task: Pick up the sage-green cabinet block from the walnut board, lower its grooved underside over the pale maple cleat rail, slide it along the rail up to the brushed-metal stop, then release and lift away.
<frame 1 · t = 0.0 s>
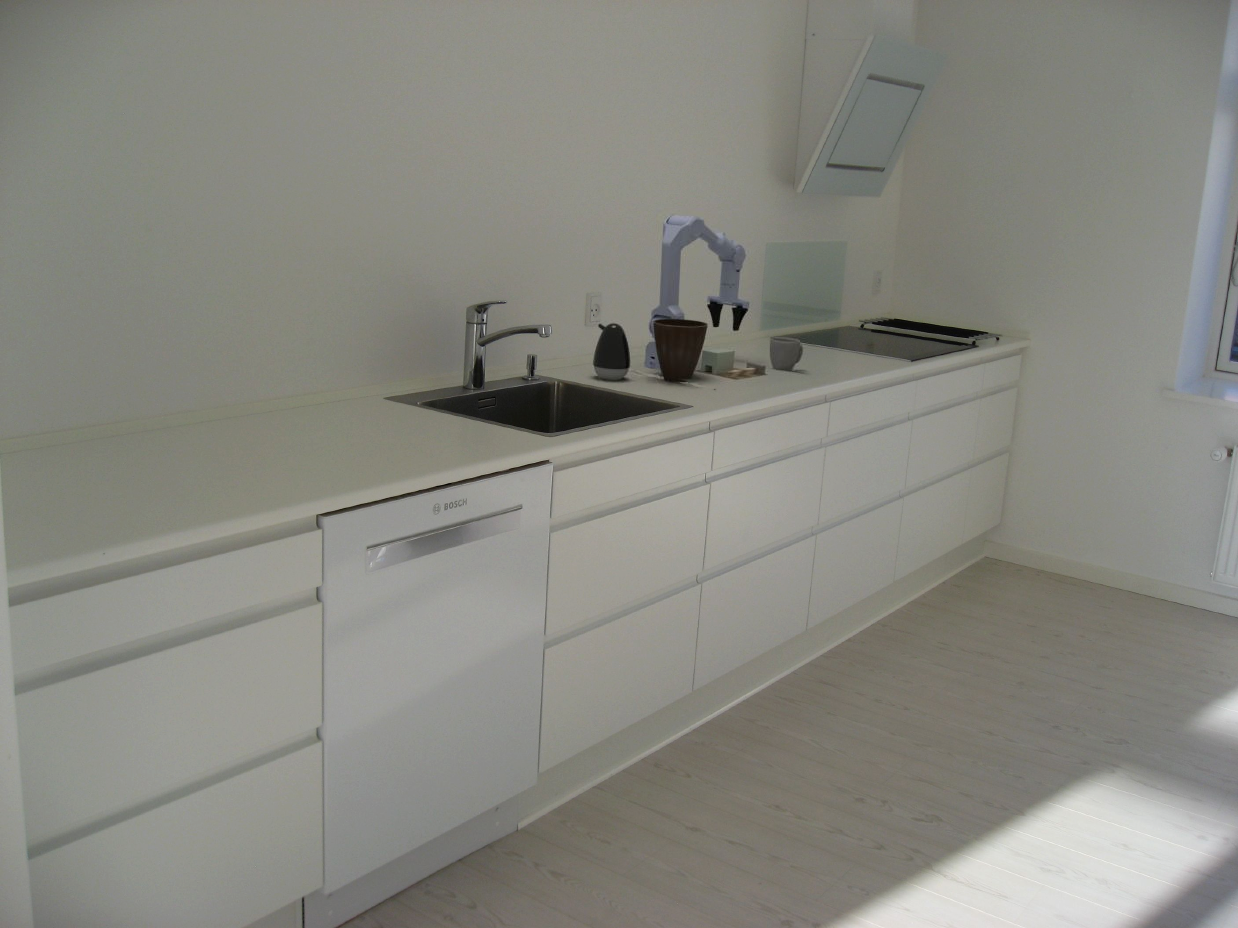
hand: (725, 328, 343), 10 cm above the worktop, fingers open, 7 cm apart
cleat board: (730, 376, 322), on the worktop
plant pot: (676, 380, 311), on the worktop
pump dispenser: (610, 379, 307), on the worktop
cabinet block: (716, 371, 322), point 1 cm above the worktop, touching cleat board
mug: (785, 372, 335), on the worktop
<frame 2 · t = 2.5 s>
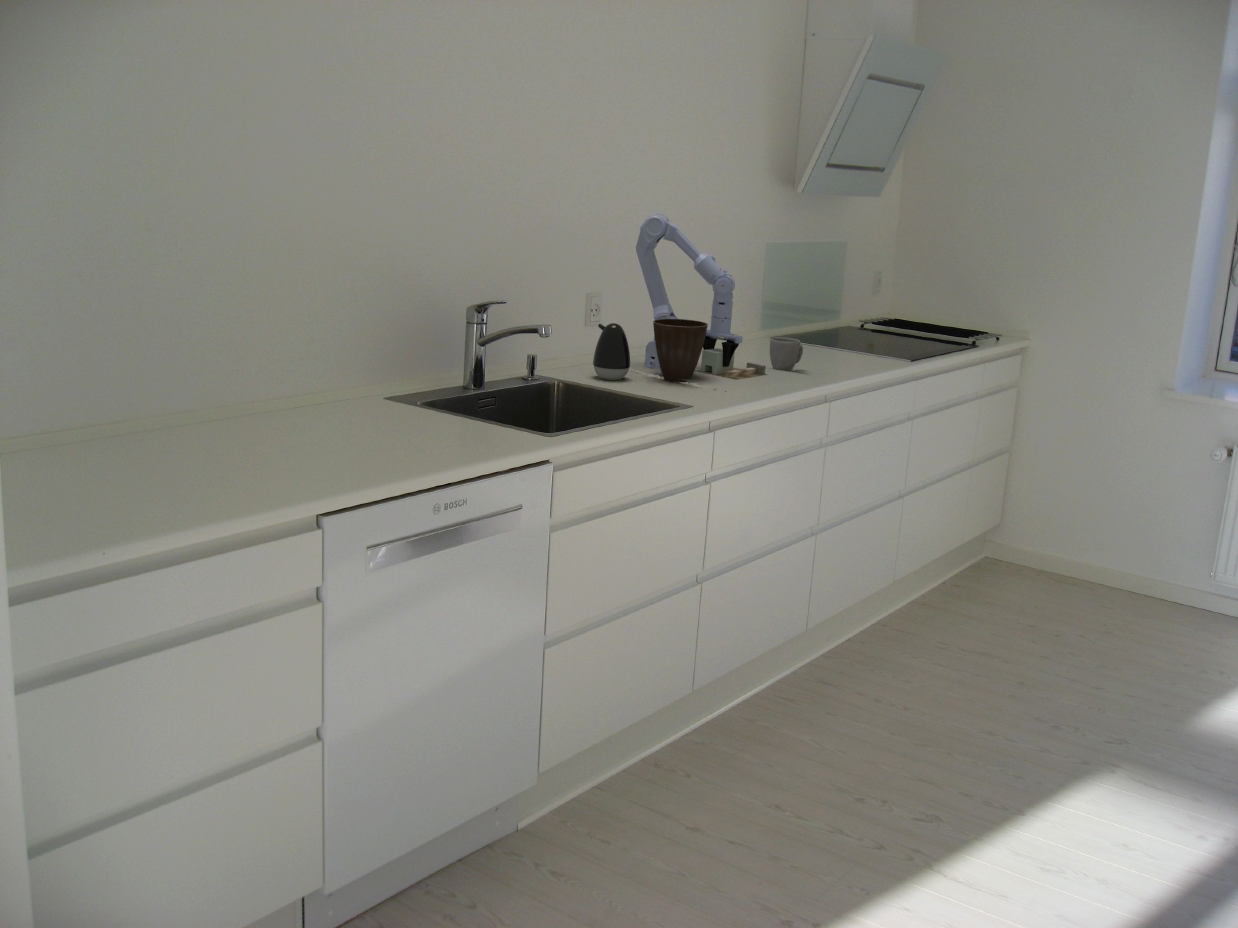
hand: (717, 364, 322), 3 cm above the worktop, fingers closed on cabinet block, 5 cm apart
cabinet block: (716, 371, 322), point 1 cm above the worktop, touching cleat board, gripper
everything else where it was.
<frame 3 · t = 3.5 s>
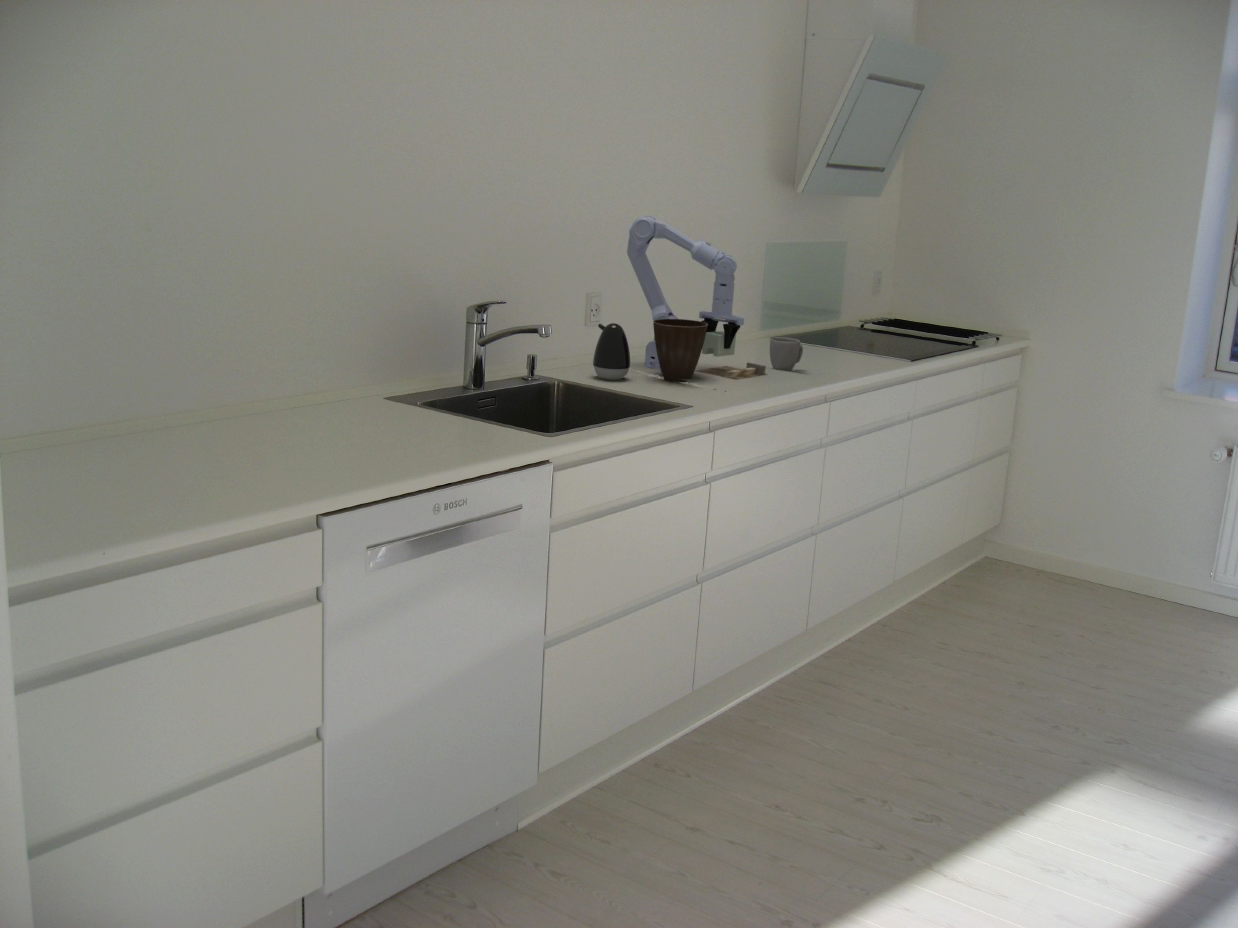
hand: (718, 346, 320), 8 cm above the worktop, fingers closed on cabinet block, 5 cm apart
cabinet block: (718, 354, 321), point 6 cm above the worktop, touching gripper
everything else where it was.
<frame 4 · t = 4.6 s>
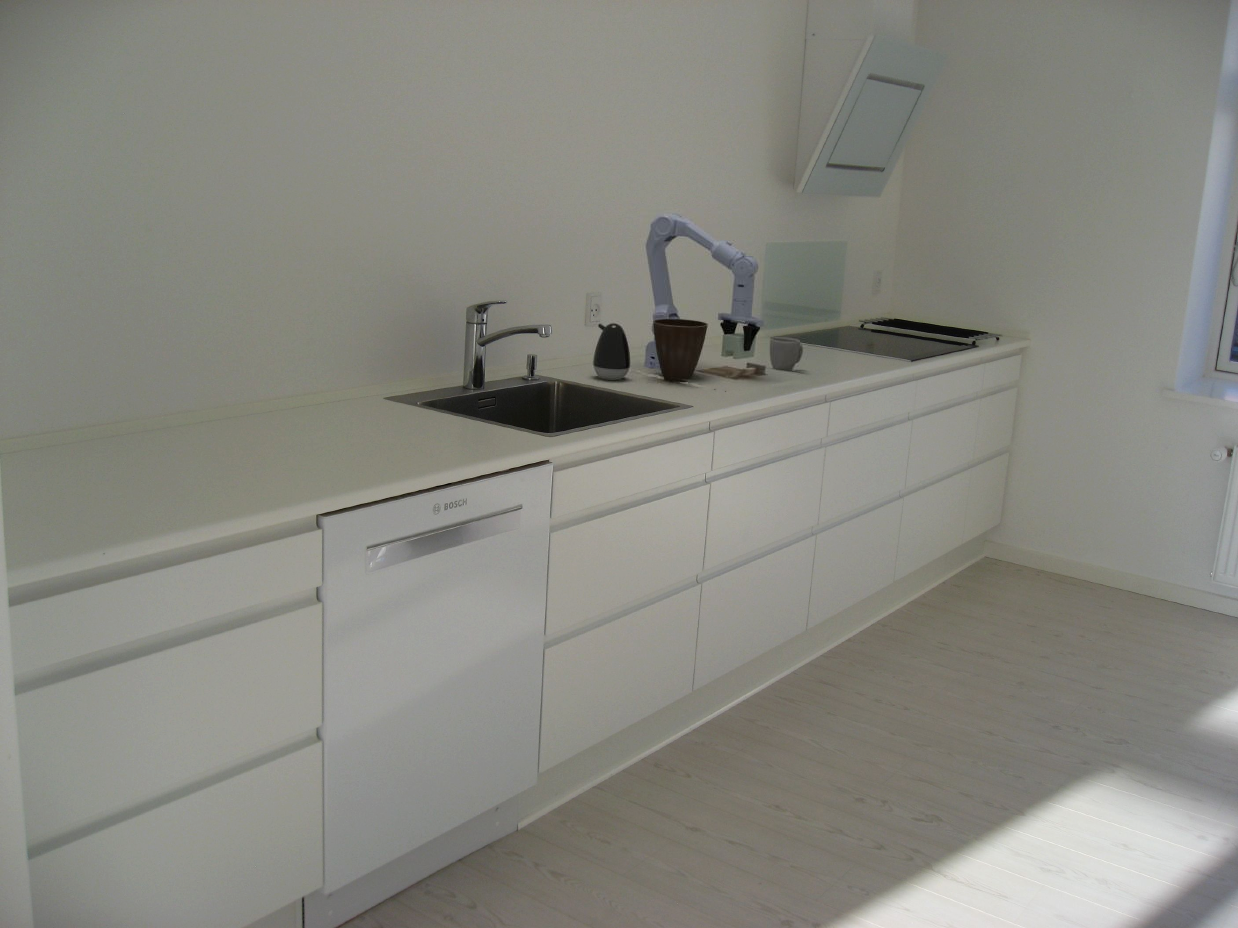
hand: (738, 349, 315), 9 cm above the worktop, fingers closed on cabinet block, 5 cm apart
cabinet block: (737, 356, 315), point 7 cm above the worktop, touching gripper
everything else where it was.
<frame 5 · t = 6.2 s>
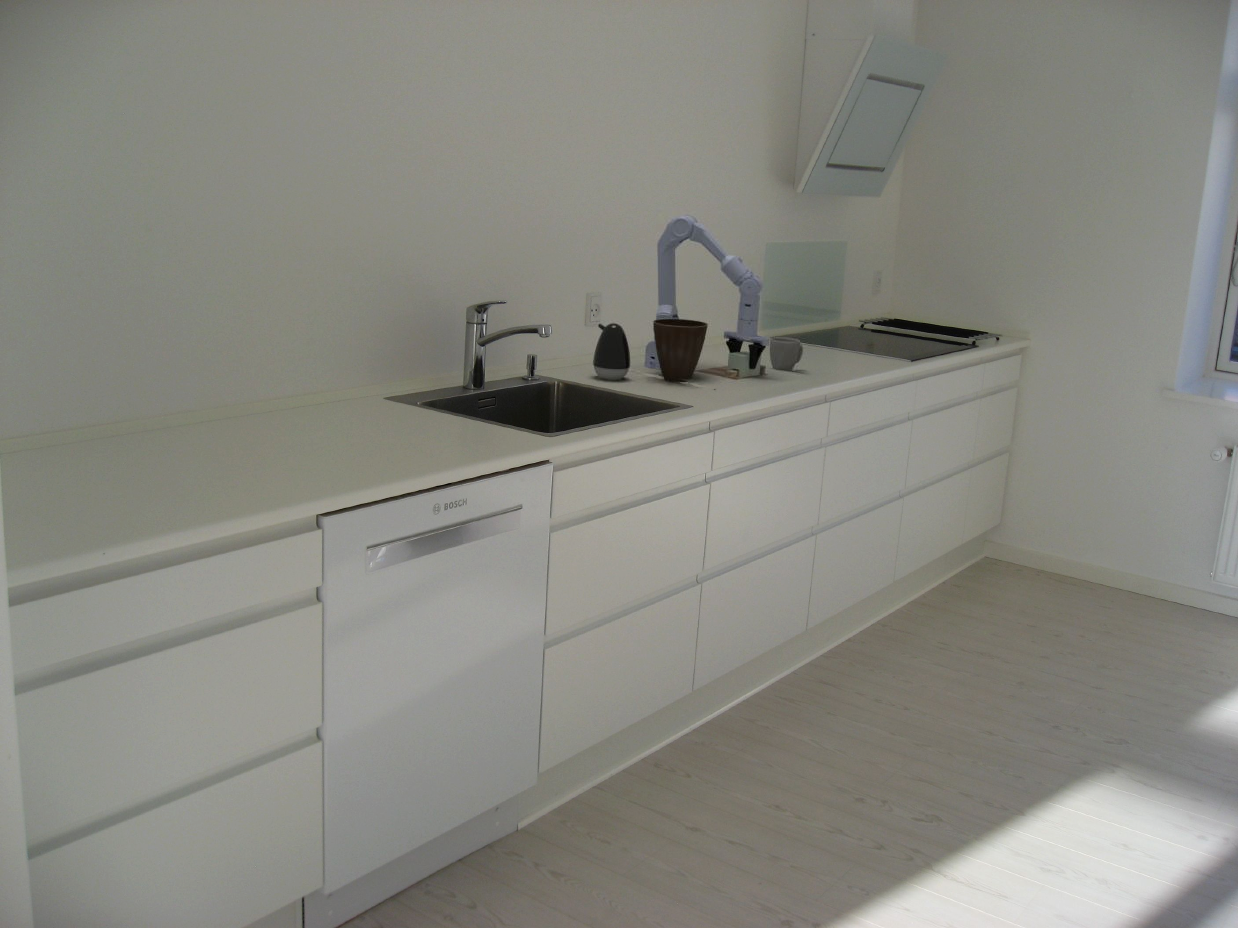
hand: (743, 367, 319), 3 cm above the worktop, fingers closed on cabinet block, 5 cm apart
cabinet block: (743, 374, 319), point 1 cm above the worktop, touching gripper
everything else where it was.
when the fingers open (3 cm above the worktop, at t = 7.1 s): cabinet block stays where it is, resting on cleat board.
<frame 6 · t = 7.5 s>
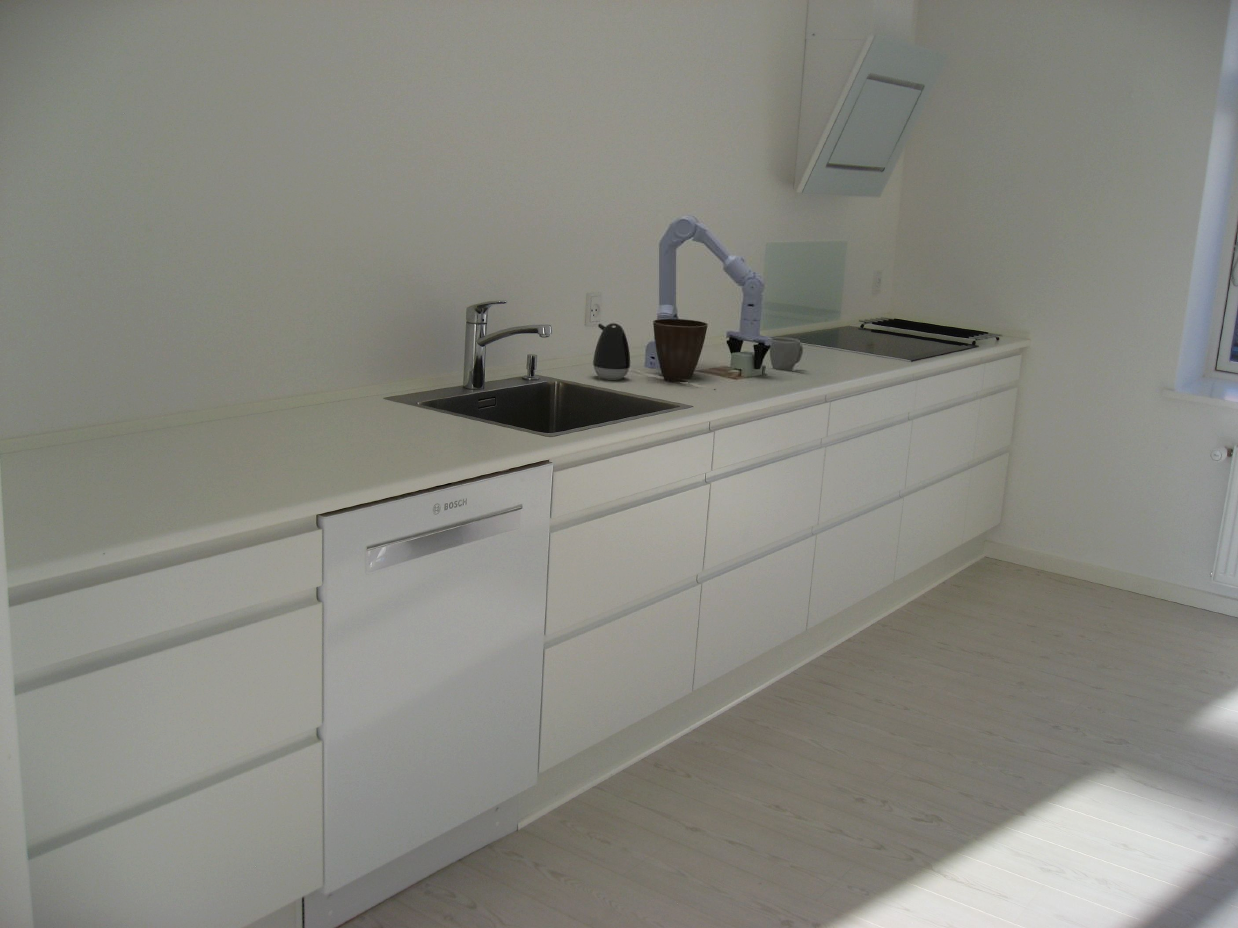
hand: (746, 366, 320), 3 cm above the worktop, fingers open, 7 cm apart
cabinet block: (745, 374, 320), point 1 cm above the worktop, touching cleat board
everything else where it was.
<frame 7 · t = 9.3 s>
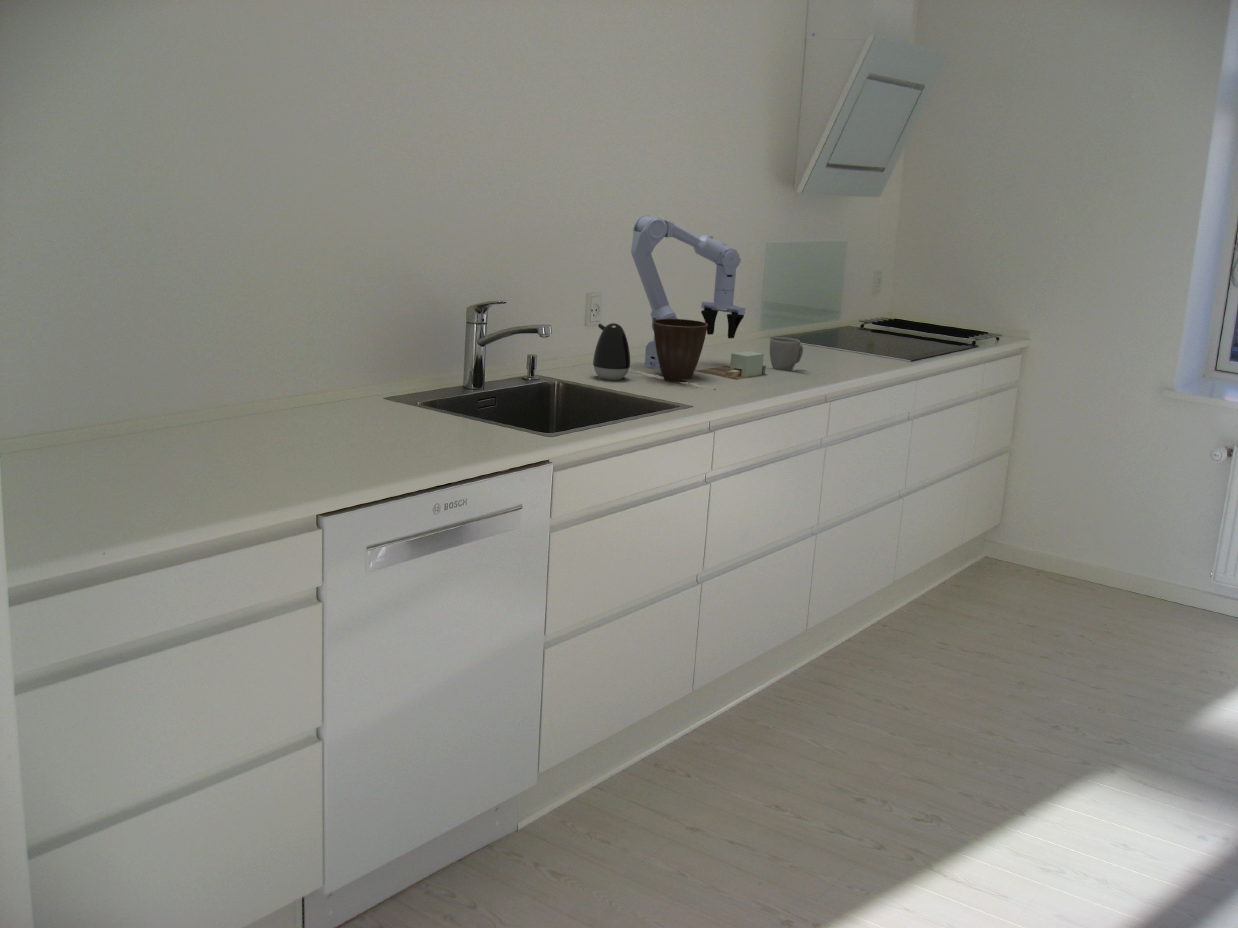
hand: (720, 336, 328), 10 cm above the worktop, fingers open, 7 cm apart
nothing on the worktop moved.
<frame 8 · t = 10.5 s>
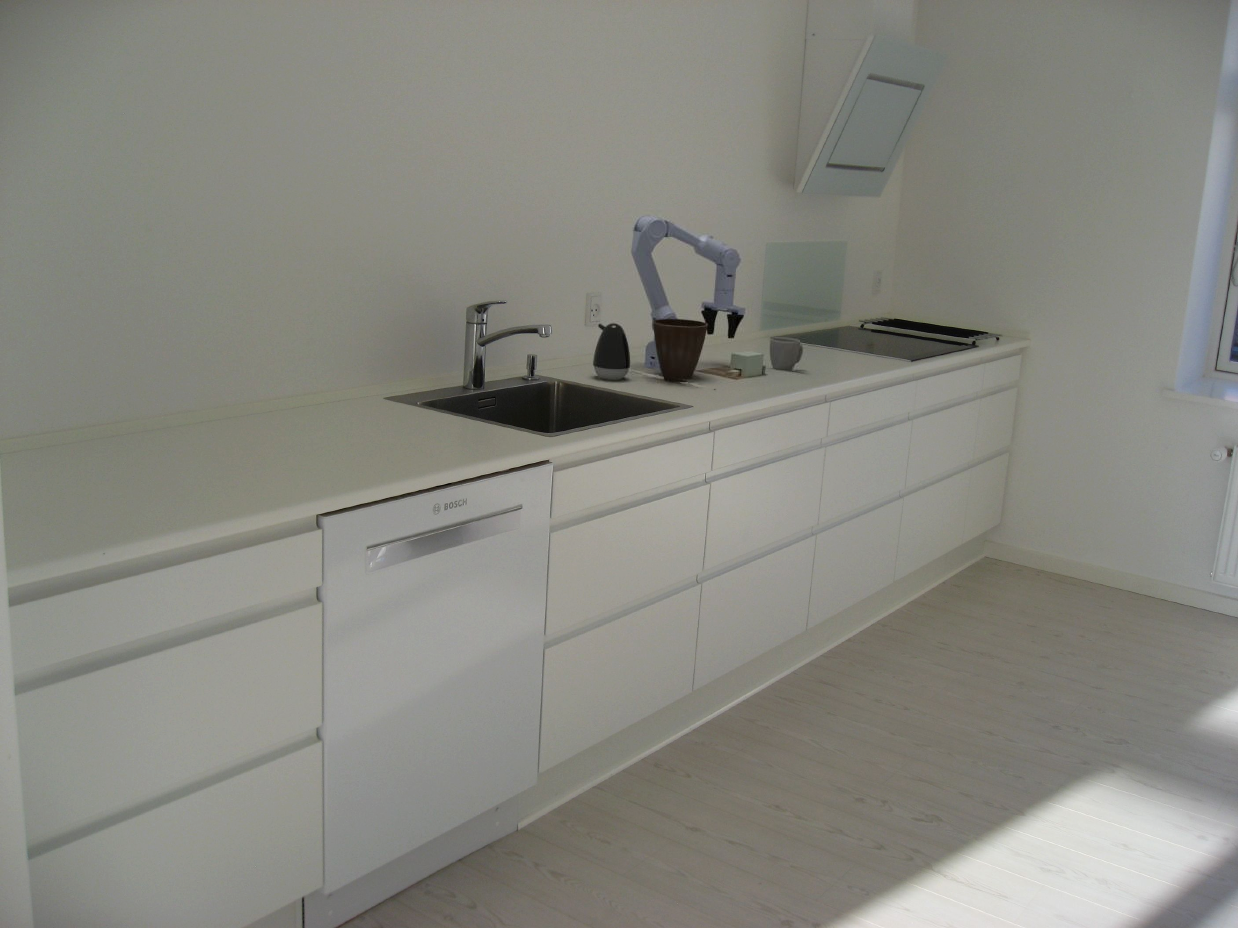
hand: (720, 336, 328), 10 cm above the worktop, fingers open, 7 cm apart
nothing on the worktop moved.
at the end: cabinet block 0.1 cm from the target spot on the cleat board, point 1.0 cm above the cleat board's base; cabinet block tilted 0°; the gripper is holding nothing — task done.
